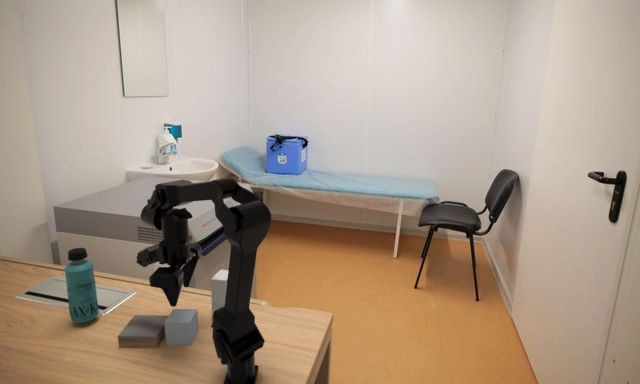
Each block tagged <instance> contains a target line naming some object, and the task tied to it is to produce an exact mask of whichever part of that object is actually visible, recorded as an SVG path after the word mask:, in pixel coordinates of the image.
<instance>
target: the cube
mask: <svg viewBox="0 0 640 384" xmlns="http://www.w3.org/2000/svg"><path fill="white" fill-rule="evenodd" d="M167 316H168V318H167V319H166V321H165V322H164V324H165V345H183V346H185V345H190V346H191V345H192V344H193V342H194V340H195V338H196V335H197V334H198V332H199V317H198V316H199V313H198V309H197V308H172V310H171V312H170V313H169V314H168V315H167Z"/></svg>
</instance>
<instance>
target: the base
mask: <svg viewBox="0 0 640 384" xmlns="http://www.w3.org/2000/svg"><path fill="white" fill-rule="evenodd" d="M168 316H169V315H159V314H158V315H155V314H154V315H153V314H134V315H133V316H132V318H131V319H130V320H129V321H128V323H127V324H126V325H125V326H124V327H123V329H122V330H121V331H120V333H119V334H118V335H117V341H118V348H132V349H133V348H141V349H143V348H144V349H158V348H159V346H160V344H161V343H162V341H163V340H164V338H166V336H165V324H164V322H165V321H166V319H167V318H168Z"/></svg>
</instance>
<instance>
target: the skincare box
mask: <svg viewBox="0 0 640 384" xmlns="http://www.w3.org/2000/svg"><path fill="white" fill-rule="evenodd" d="M228 270H229V269H227V270H226V269H220V270H219V271H218V272H216V273H215V274H214V275H213V277H212V278H211V279H210V289H211V290H210V294H211V295H210V296H211V318H212V319H211V320H213V313H214V311H215V310H217V309H220V308H222V307H224V306H225V297H226V288H227V279H228Z"/></svg>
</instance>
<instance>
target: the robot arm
mask: <svg viewBox="0 0 640 384" xmlns="http://www.w3.org/2000/svg"><path fill="white" fill-rule="evenodd" d="M225 199H231V200H232V201H234V202H236V203H238V205H237V204H236V205H234V206H229V207H228V206H227V204H226V203H225V202H224V200H225ZM146 201H147V202H146V203H147V204H146V205H144V207H143V208H142V209H141V212H140V219H141V222H142V223H143V224H144V225H147V226H149V227H151V228H154V229H156V230H158V231H161V235H162V239H161V241H160V242H159V243H156V244H153V245H150V246H148V247H145V248H143V249H142V250H140V251H139V252H137V255H136V262H135V263H136V264H138V265H139V266H141V267H142V268H146V267H148V266H150V265H153V264H157V263H158V264H159V265H166V264H167V266H159V267H158V268H157V269H155V270H154V271H153V273H152V274H151V275H150V276H149V277H148V279H149V280H148V281H149V282H148V283H149V286H150V287H151V288H152V287H153V288H157V289H159V288H160V289H161V290H162V292H163V293H164V295H165V297H166V299H167V301H168V303H169V305H170V307H173V308H175V307H177V303H178V301H179V299H180V294H181V292H182V289H183V287H184V288H189V287H190V283H191V282H192V279H193V277H194V273H195V271H196V270H197V266H198V264H199V261H200V259H201V255H202V254H203V252H202V251H203V250H202V246H201V245H200V244H199V243H197V242H195V243H193V242H191V241H192V240H193V235H192V234H191V235H190V233H189V232H190V231H189V220H190V219H193V214H192V213H191V212H190V211H189V210H188V209H187V208H186V207H182V208H177V207H181V206H184V205H189V204H191V203H193V202H202V201H203V202H204V201H212V203H213V205H214V215H215V218H216V219H217V220H218V222H219V223H220V225H222V226H223V233H224V236H225V238H226V239H227V241H228V243H229V244H230V253H229V262H228V263H229V264H228V269H227V270H228V279H227V288H226V297H225V306H224V307H222V308H220V309H217V310H215V311H214V313H213V319H212V323H211V328H212V335H211V337H212V341H213V344H214V349H215V353H216V355H217V359H219V360H220V364H221V365H224V366H225V365H227V366H226V367H227V371H226V374H225V378H224V380H223V384H256V382H257V377H258V374H259V365H258V364H256V362H255V361H256V358H255V357H256V356H255V352H257V351H258V350H261V349H262V348H263V347H264V345H265V341H266V340H265V338H264V337H263V334H262V333H261V331H260V329H259V328H258V326H257V324H256V316H255V315H254V313H253V312H252V309H250V303H251V295H252V290H253V283H254V273H255V268H256V267H255V266H256V260H257V254H258V253H257V252H258V249H259V246H260V245H261V244H262V242H263V241H264V240H265V238H266V237H267V235H268V232H269V230H270V225H271V222H272V213H271V211H270V209H269V208H268V206H267V205H266V204H265V203H264V202H263V200H262V199H261V198H260V197H259V196H258V195H257V194H256V193H254V192H253V191H251V190H249V189H247V188H245V187H243V186H242V185H241V184H239V182H238V181H236V179H235V178H232V177H222V178H217V179H211V180H209V181H208V180H207V181H202V182H201V181H199V182H192V181H191V180H187V179H179V180H173V181H167V182H161V183H157V184H156V185H154V190H153V191H152V194H151V197H150V198H148V199H147V200H146Z"/></svg>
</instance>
